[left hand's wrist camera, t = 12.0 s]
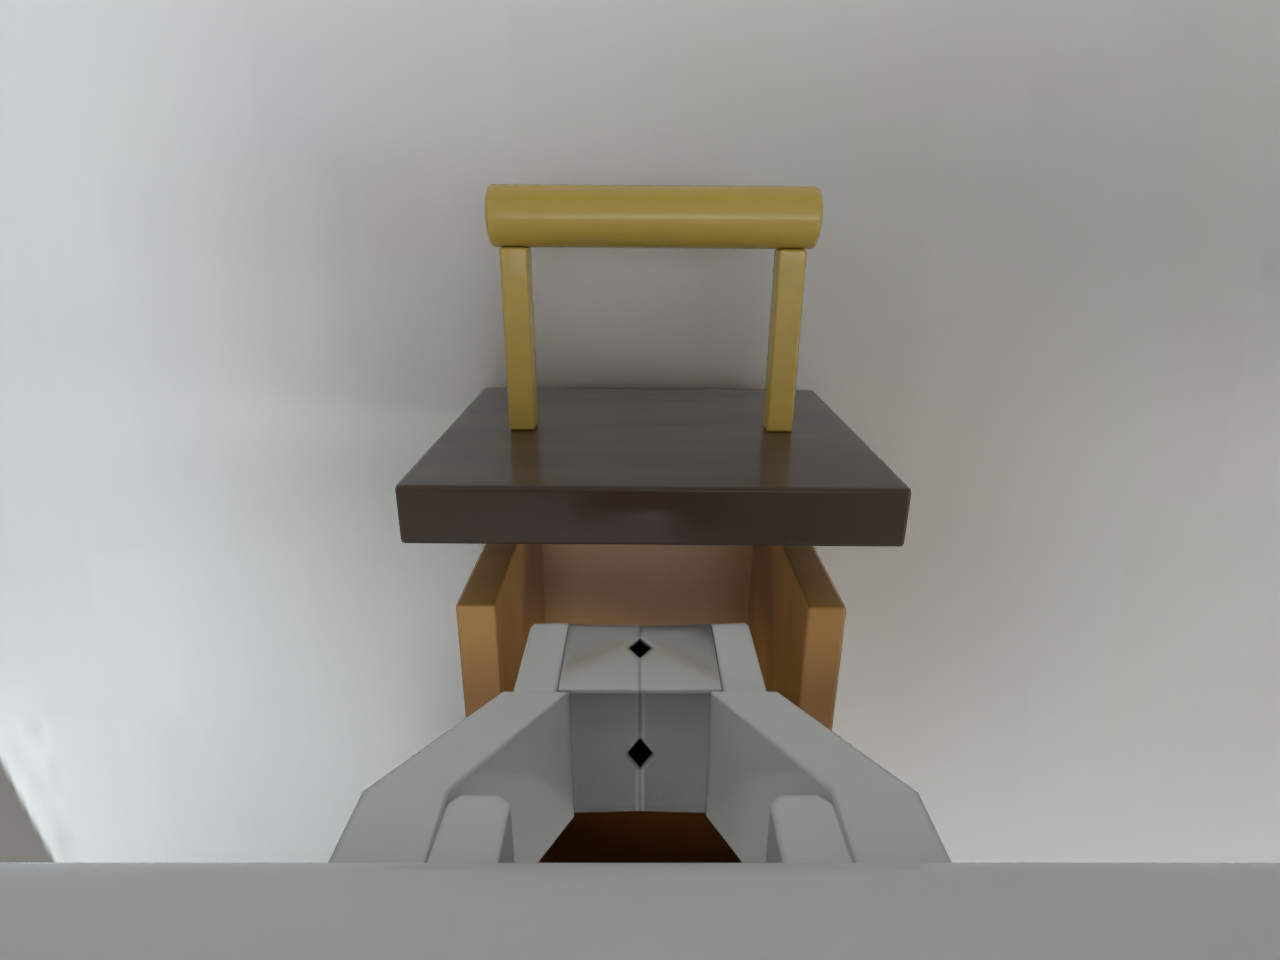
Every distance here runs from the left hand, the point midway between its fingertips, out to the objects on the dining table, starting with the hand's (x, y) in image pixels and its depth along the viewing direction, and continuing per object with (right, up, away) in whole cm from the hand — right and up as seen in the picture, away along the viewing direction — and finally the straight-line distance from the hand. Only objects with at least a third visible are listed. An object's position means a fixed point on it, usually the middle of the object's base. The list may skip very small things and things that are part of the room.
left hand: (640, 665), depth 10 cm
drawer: (0, -1, +13) cm, 13 cm away
